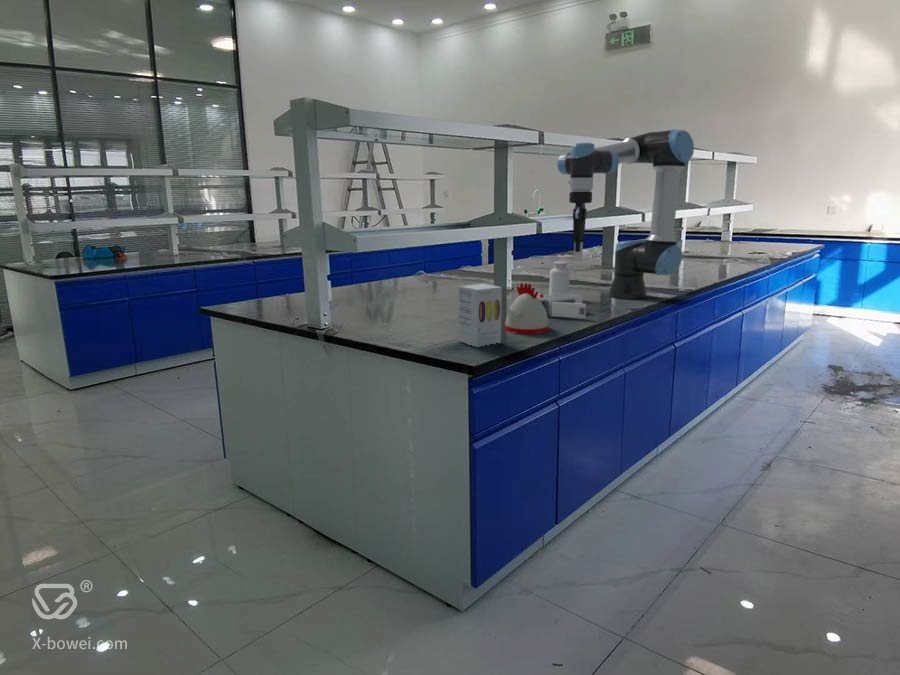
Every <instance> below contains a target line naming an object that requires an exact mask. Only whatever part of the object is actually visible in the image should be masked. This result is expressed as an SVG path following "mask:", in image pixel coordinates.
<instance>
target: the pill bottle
mask: <svg viewBox="0 0 900 675" xmlns="http://www.w3.org/2000/svg"><path fill="white" fill-rule="evenodd" d="M570 278H571V272H570V269H568V262H566V261H554V262H553V268H552V269H550V272H549V287H548V288H549V289H548V291H549V292H548V294H552V293H561V292H567V293H570Z"/></svg>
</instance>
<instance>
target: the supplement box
mask: <svg viewBox="0 0 900 675" xmlns="http://www.w3.org/2000/svg"><path fill="white" fill-rule="evenodd" d="M502 293H503V288H502V286H498V285H492V284H488V283H478V284H469V285H459V286H458V342H459V341H460V342H459V343H462V342H463V344H465V343H466V344H465V345H469V346H471V345H472V346H471V347H474V346H475V347H474V348H481V346H482V347H486V346H485V345H487V346H491V345H490V344H493V345H497V344H496V343H498V344H501V342H502V341H501V340H502V304H503V303H502V302H503V300H502Z"/></svg>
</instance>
